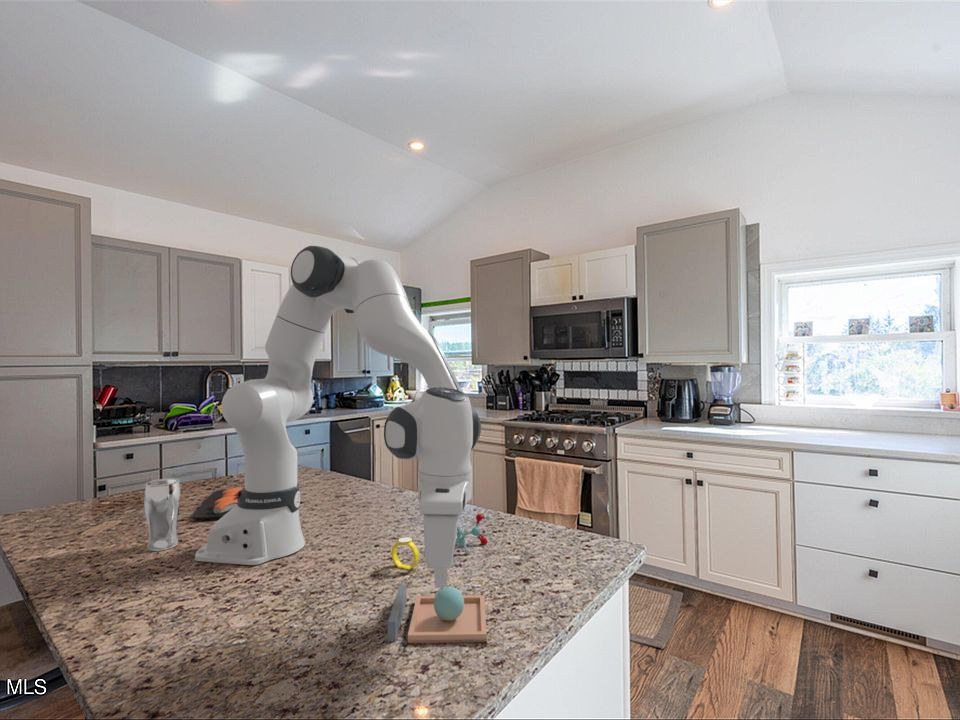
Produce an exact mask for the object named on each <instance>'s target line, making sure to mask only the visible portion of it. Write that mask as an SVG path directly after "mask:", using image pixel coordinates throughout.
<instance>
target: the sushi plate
mask: <svg viewBox="0 0 960 720" xmlns="http://www.w3.org/2000/svg"><path fill="white" fill-rule="evenodd" d="M242 489H243V487H230V488H226V489H225V488H224V489H219V490H214V491H213V492H212V493H211V494H210V495H209V496H208V497H207V498H206V499H205V500H204V502H203V503H202V504H201V505H200V506H199V507H198V508H197V510H196V511H194V513H193V515H192V518H193V519H196V520H205V519H207V520H209V519H220V518H222V517H223V516H224V515H225V514H226V513H228V512H229V511H230V510H231V509H233V508H234V507H235V506H237V503H238V502H237V499H236V500H233V499H234V497H235V496H233V495H235V494H237V492H238V491H240V490H242ZM302 503H305V502H303V501H300V504H302Z"/></svg>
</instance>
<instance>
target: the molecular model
mask: <svg viewBox="0 0 960 720" xmlns="http://www.w3.org/2000/svg"><path fill="white" fill-rule="evenodd" d="M475 519H476V523H475V526H474V527H473V528H472V529H471V530H469V529H467V528H466V529H465V530H462V529H460V527H459V525H458V526H457V533H456V540H455V546H458V545H460V546H462V547H463V549H464V553H465V554H466V555H470V554H471V550H470V548H468V547H467V545H466V537H467V536H468V535H473V536H476V537H477V538H478V539H479V541H480V543H481V545H483V546H485V545H487V543H488V539H487V538H486V537H484V536H483V535H482V534H481V532H480V529H479V525H480V522H481V521H482V520H486V521H490V520H491V519H492V516H491V515H490V514H487V515H483V514H481V513H478V514H476V515H475Z"/></svg>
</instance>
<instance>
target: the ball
mask: <svg viewBox="0 0 960 720" xmlns="http://www.w3.org/2000/svg"><path fill="white" fill-rule="evenodd" d="M463 595H464V594H462V592H461V591H460V590H459V589H458V588H456V587H454V586H446V587H444V588H441V589H440V590H438V592H437V593H436V595H434V596H435V599H434V609H435V612H436V614H437V615H438V616H439V617H440V618H441V619H443V620H446V621H451V620H454V619H456V618H458V617H459V616H460V614H461V613H462V611H463V608H464V598H463Z"/></svg>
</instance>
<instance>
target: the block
mask: <svg viewBox="0 0 960 720" xmlns="http://www.w3.org/2000/svg"><path fill="white" fill-rule="evenodd" d="M397 588H398V589H397V592H396V595H395V599H394V601H393V604H392V607H391V611H390V613H389V617H388V620H387V642H393V643H394V642H396V641H397V637H398V634H399V630H400V627H401V623H402V619H403V616H404V611H405V610H406V609H405V608H406V604H407V584H399V586H398V587H397Z"/></svg>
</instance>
